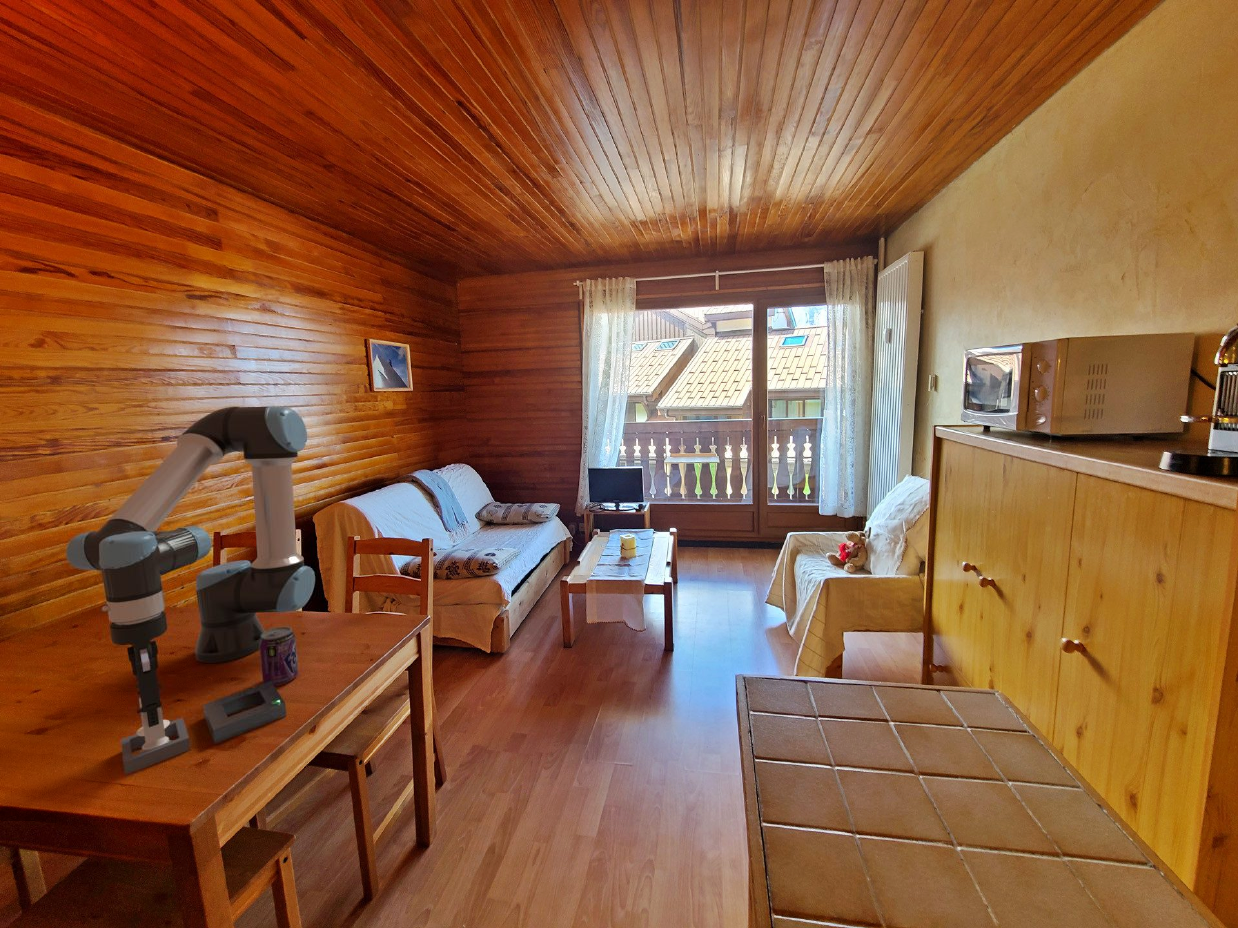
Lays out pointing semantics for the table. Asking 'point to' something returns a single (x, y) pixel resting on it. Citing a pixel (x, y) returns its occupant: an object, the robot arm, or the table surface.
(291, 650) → the beverage can
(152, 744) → the candle
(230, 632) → the robot arm
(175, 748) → the grey square frame
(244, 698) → the port block
